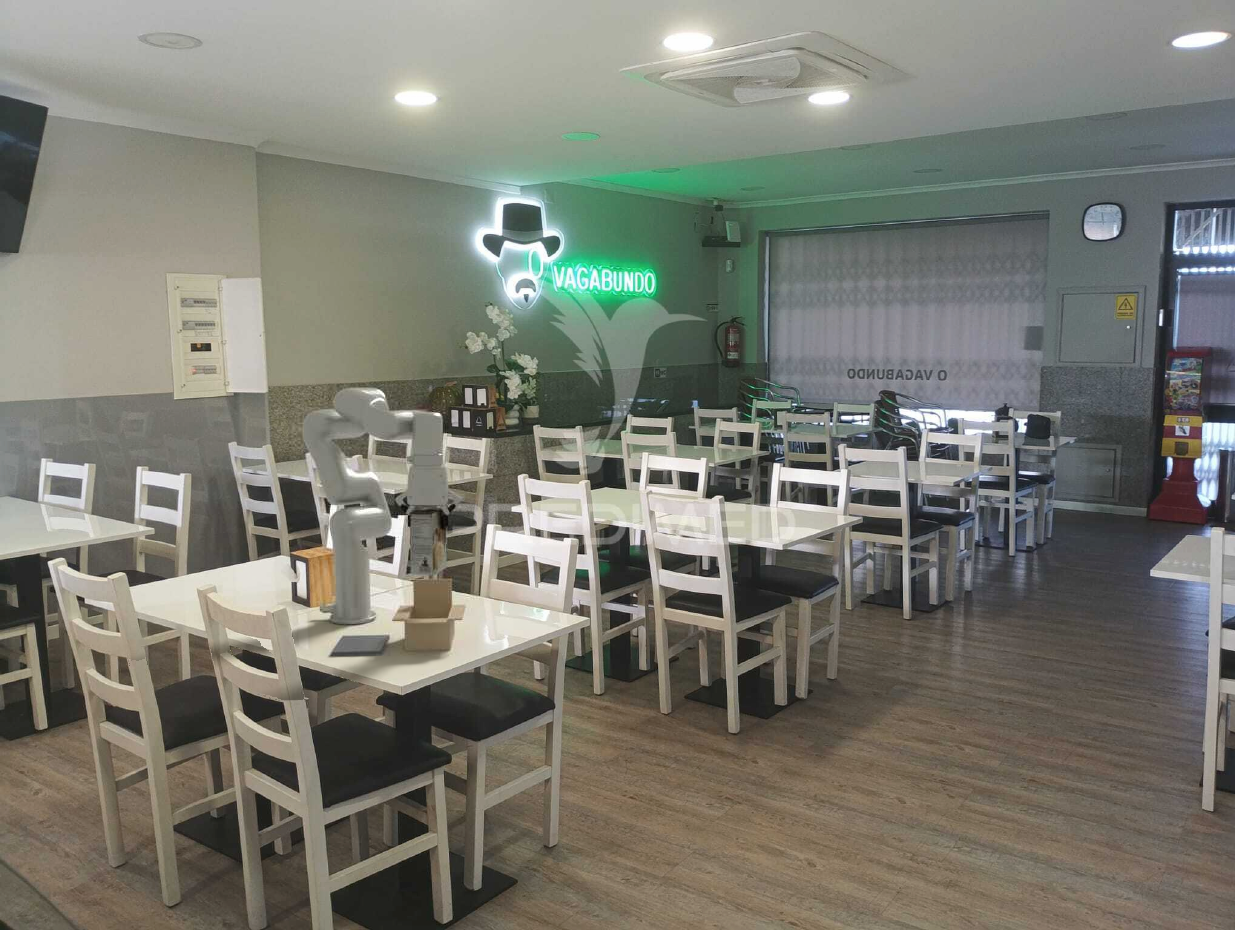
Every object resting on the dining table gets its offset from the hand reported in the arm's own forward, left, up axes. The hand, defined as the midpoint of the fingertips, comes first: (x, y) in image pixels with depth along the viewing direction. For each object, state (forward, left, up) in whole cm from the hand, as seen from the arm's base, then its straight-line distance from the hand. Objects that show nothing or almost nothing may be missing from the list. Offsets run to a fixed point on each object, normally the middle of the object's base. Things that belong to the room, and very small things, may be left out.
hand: (428, 529), depth 240 cm
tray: (-17, -3, -30) cm, 34 cm away
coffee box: (0, 0, -11) cm, 11 cm away
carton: (0, -2, -30) cm, 30 cm away
